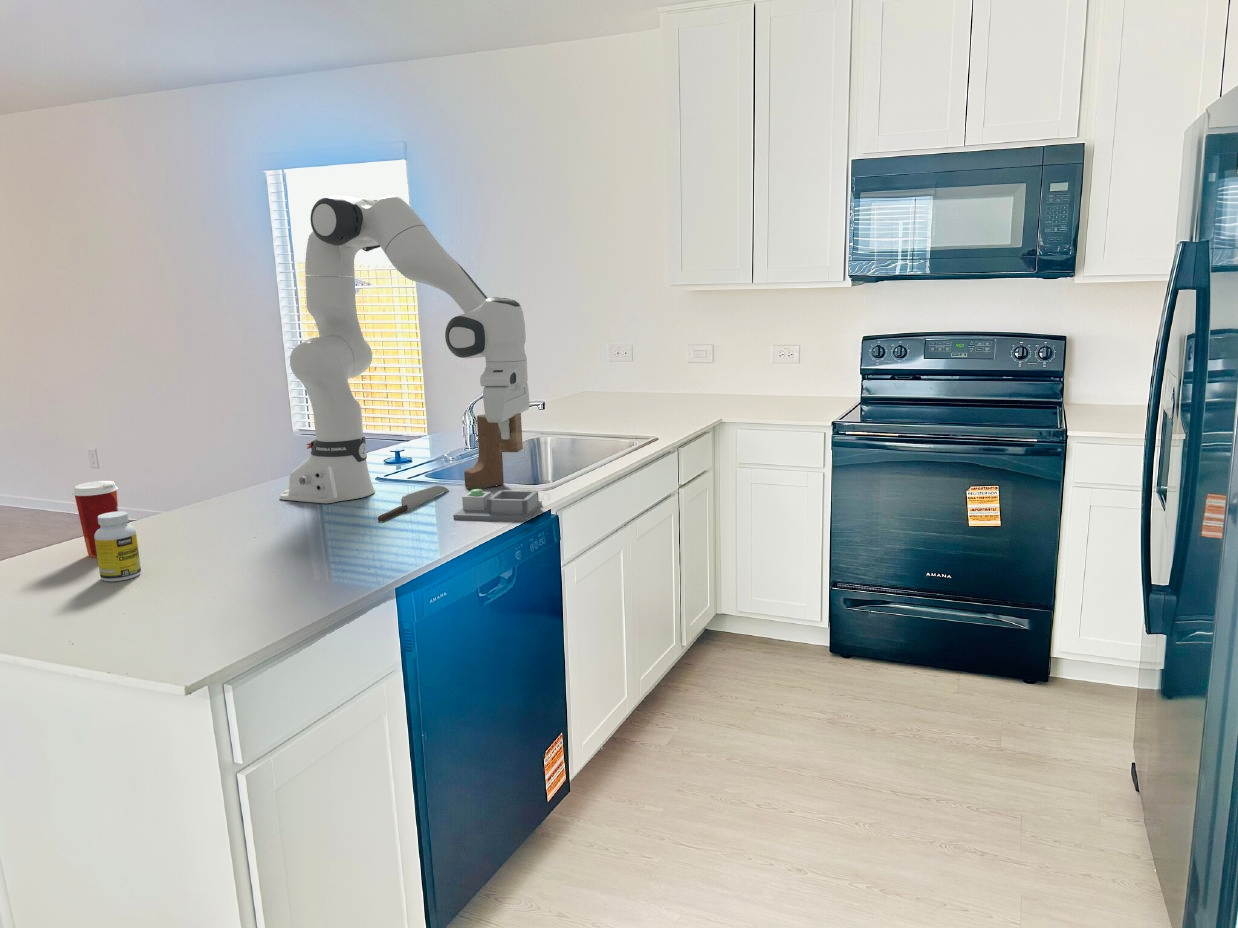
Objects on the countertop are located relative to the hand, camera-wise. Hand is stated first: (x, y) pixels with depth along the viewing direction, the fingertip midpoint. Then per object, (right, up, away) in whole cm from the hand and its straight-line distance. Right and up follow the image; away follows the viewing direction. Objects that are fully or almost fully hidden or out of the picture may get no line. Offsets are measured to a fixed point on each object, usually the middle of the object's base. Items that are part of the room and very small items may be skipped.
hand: (510, 436), depth 192 cm
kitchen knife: (-23, -16, +13) cm, 31 cm away
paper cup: (-77, -24, -20) cm, 83 cm away
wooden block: (-10, -12, +30) cm, 33 cm away
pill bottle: (-66, -27, -34) cm, 79 cm away
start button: (-8, -15, +5) cm, 18 cm away
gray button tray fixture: (-3, -17, +4) cm, 18 cm away
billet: (0, -3, +1) cm, 3 cm away
